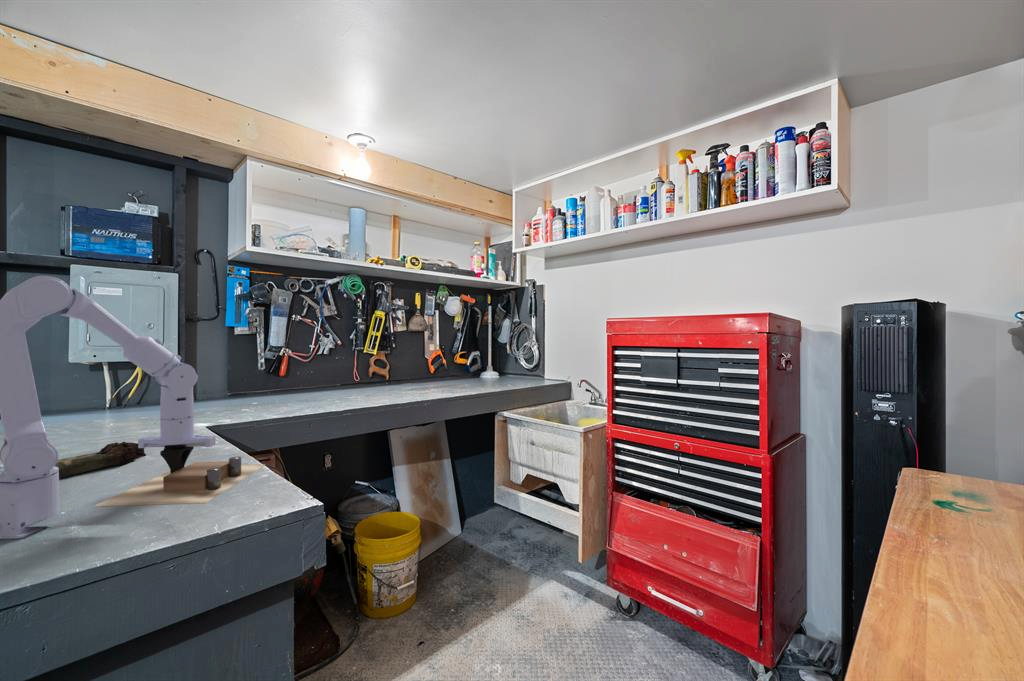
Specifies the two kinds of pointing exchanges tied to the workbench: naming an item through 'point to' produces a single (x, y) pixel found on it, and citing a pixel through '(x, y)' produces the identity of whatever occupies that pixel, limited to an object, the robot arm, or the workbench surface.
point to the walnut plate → (193, 476)
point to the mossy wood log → (100, 458)
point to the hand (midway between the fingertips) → (177, 479)
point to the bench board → (156, 495)
